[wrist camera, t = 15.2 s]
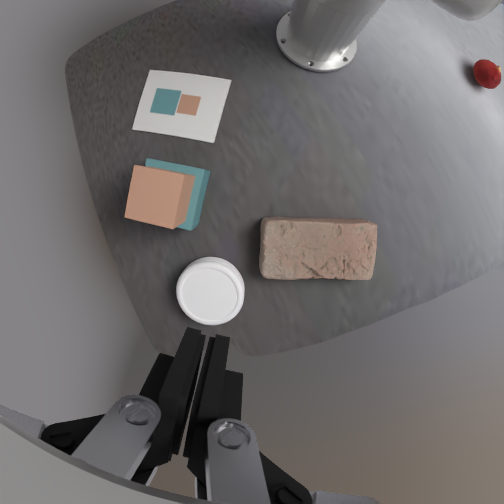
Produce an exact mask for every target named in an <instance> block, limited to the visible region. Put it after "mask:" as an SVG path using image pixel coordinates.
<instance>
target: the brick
mask: <svg viewBox="0 0 504 504" xmlns="http://www.w3.org/2000/svg"><path fill="white" fill-rule="evenodd" d="M260 231H261V238H260V239H261V243H260V254H259V267H260V271H261V274H262V276H263V277H265V278H267V279H286V280H296V279H309V278H314V279H317V278H327V279H334V278H336V279H340V280H341V279H345V280H370V279H371V278H372V274H373V268H374V263H375V256H376V241H377V225H376V224H374V223H372V222H369V221H367V220H363V219H343V218H288V217H264V218H263V219H262V220H261V228H260Z"/></svg>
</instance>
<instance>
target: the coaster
mask: <svg viewBox="0 0 504 504" xmlns="http://www.w3.org/2000/svg"><path fill="white" fill-rule="evenodd" d="M244 291H245V289H244V282H243V279H242V276H241V274H240V273H239V271H238V270H237V269H236V268H235V267H234V266H233V265H232V264H231V263H229V262H228V261H226V260H224V259H221V258H217V257H204V258H200V259H197V260H195V261H193V262H192V263H190V264H189V265H188V266H187V267H186V268H185V270H184V271H183V272H182V274H181V275H180V277H179V279H178V282H177V287H176V294H177V299H178V303H179V305H180V307H181V309H182V310H183V311H184V313H185V314H186V315H187V316H189V317H190V318H191V319H193V320H194V321H196V322H198V323H201V324H205V325H219V324H223V323H225V322H227V321H229V320H231V319H232V318H233V317H235V316H236V315H237V313H238V312H239V311H240V309H241V307H242V305H243V301H244Z"/></svg>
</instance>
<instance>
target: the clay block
mask: <svg viewBox="0 0 504 504" xmlns="http://www.w3.org/2000/svg"><path fill="white" fill-rule="evenodd" d="M194 180H195V175H190V174H185V173H181V172H176V171H171V170H166V169H161V168H156V167H149V166H139V165H134V169H133V174H132V179H131V184H130V189H129V194H128V200H127V205H126V211H125V218H129V219H133V220H137V221H141V222H145V223H149V224H153V225H158V226H162V227H166V228H170V229H174V228H176V227H177V226H179V225H180V224H182V223H184V222H185V221H186V216H187V211H188V207H189V202H190V198H191V193H192V189H193V185H194Z"/></svg>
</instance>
